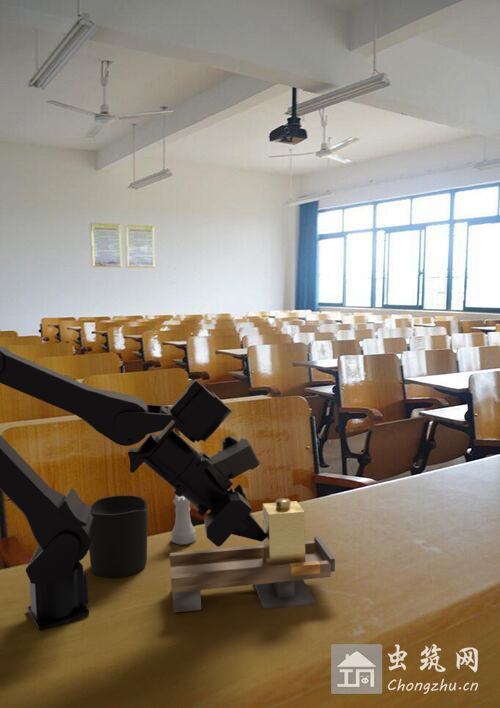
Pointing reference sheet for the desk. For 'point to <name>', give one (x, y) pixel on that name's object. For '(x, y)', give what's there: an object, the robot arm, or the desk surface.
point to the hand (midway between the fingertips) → (264, 538)
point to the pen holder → (119, 536)
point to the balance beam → (247, 574)
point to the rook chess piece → (182, 523)
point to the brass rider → (284, 532)
